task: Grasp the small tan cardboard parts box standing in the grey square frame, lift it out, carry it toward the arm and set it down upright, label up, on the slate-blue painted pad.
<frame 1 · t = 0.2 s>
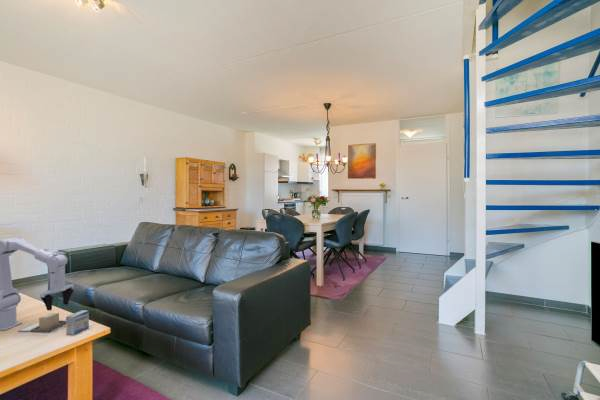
hand: (57, 307, 144), 10 cm above the table, fingers open, 7 cm apart
pad: (33, 327, 143), on the table
parts box: (49, 321, 143), in the grey square frame
medicine box: (77, 331, 140), on the table
grey square frame: (49, 327, 143), on the table
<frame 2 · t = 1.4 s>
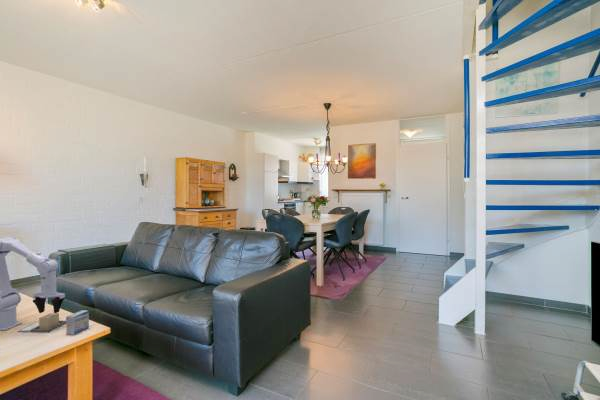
hand: (49, 312, 143), 7 cm above the table, fingers open, 7 cm apart
nothing on the table moved.
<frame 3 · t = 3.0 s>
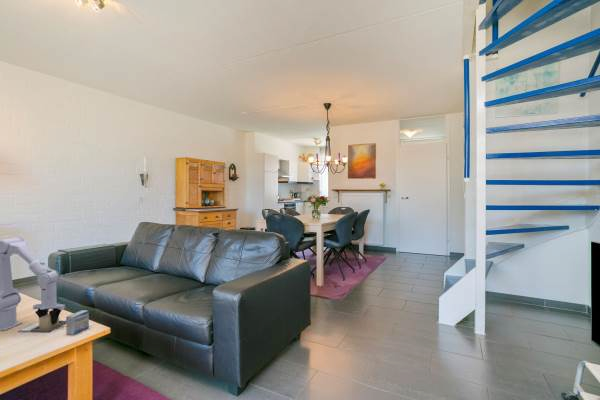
hand: (49, 323, 143), 2 cm above the table, fingers closed on parts box, 4 cm apart
parts box: (49, 321, 143), in the grey square frame, touching gripper
everything else where it was.
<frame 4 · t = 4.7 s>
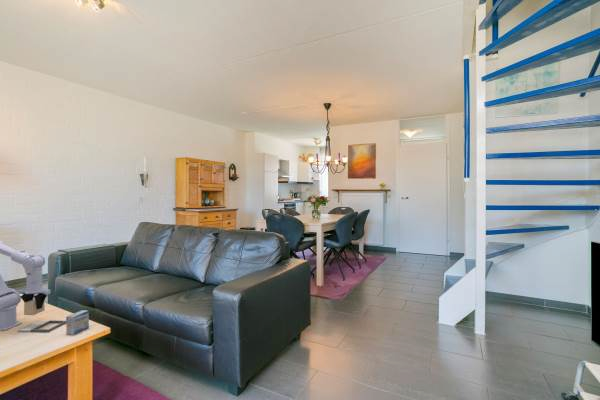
hand: (34, 308, 143), 9 cm above the table, fingers closed on parts box, 4 cm apart
parts box: (34, 306, 143), point 10 cm above the table, touching gripper
everything else where it was.
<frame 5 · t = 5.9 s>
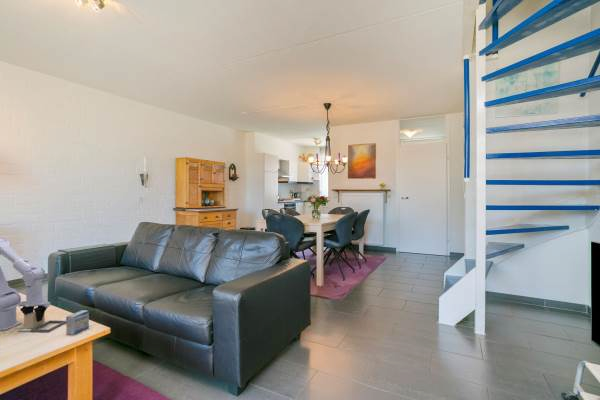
hand: (34, 320, 143), 3 cm above the table, fingers closed on parts box, 4 cm apart
parts box: (34, 319, 143), point 4 cm above the table, touching gripper
everything else where it was.
when the fingers open (3 cm above the table, at t = 6.8 s): parts box stays where it is, resting on pad.
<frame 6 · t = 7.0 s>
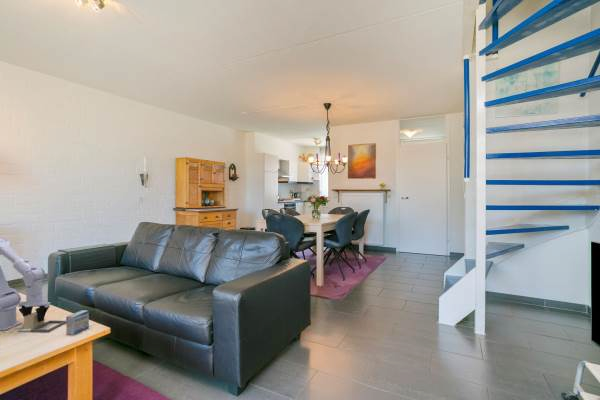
hand: (34, 321, 143), 3 cm above the table, fingers open, 6 cm apart
parts box: (34, 320, 143), on the pad
everything else where it was.
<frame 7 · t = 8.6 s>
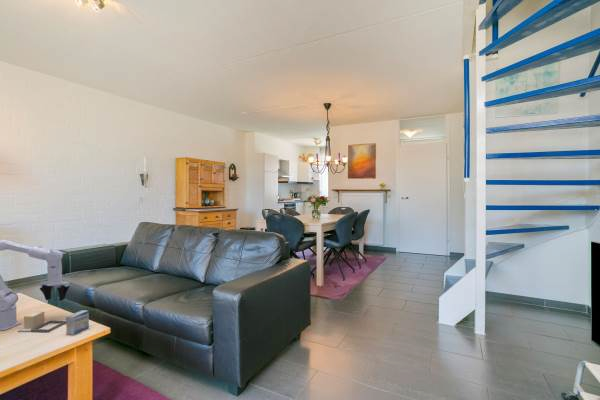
hand: (55, 299, 152), 10 cm above the table, fingers open, 7 cm apart
nothing on the table moved.
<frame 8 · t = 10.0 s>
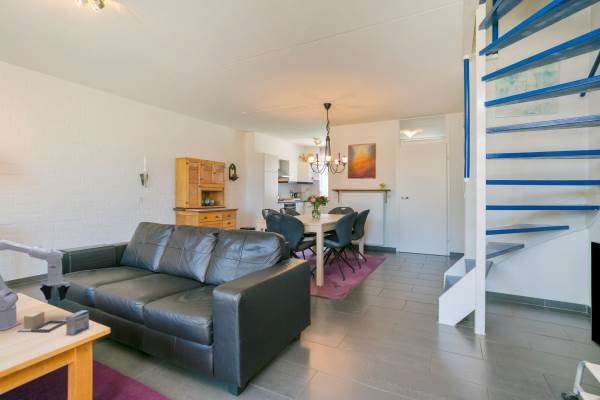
hand: (55, 299, 152), 10 cm above the table, fingers open, 7 cm apart
nothing on the table moved.
at the end: parts box inside the target area on the pad (0.5 cm from its centre), point 3.5 cm above the pad's base; parts box tilted 0°; parts box moved 7.5 cm from its start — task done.
